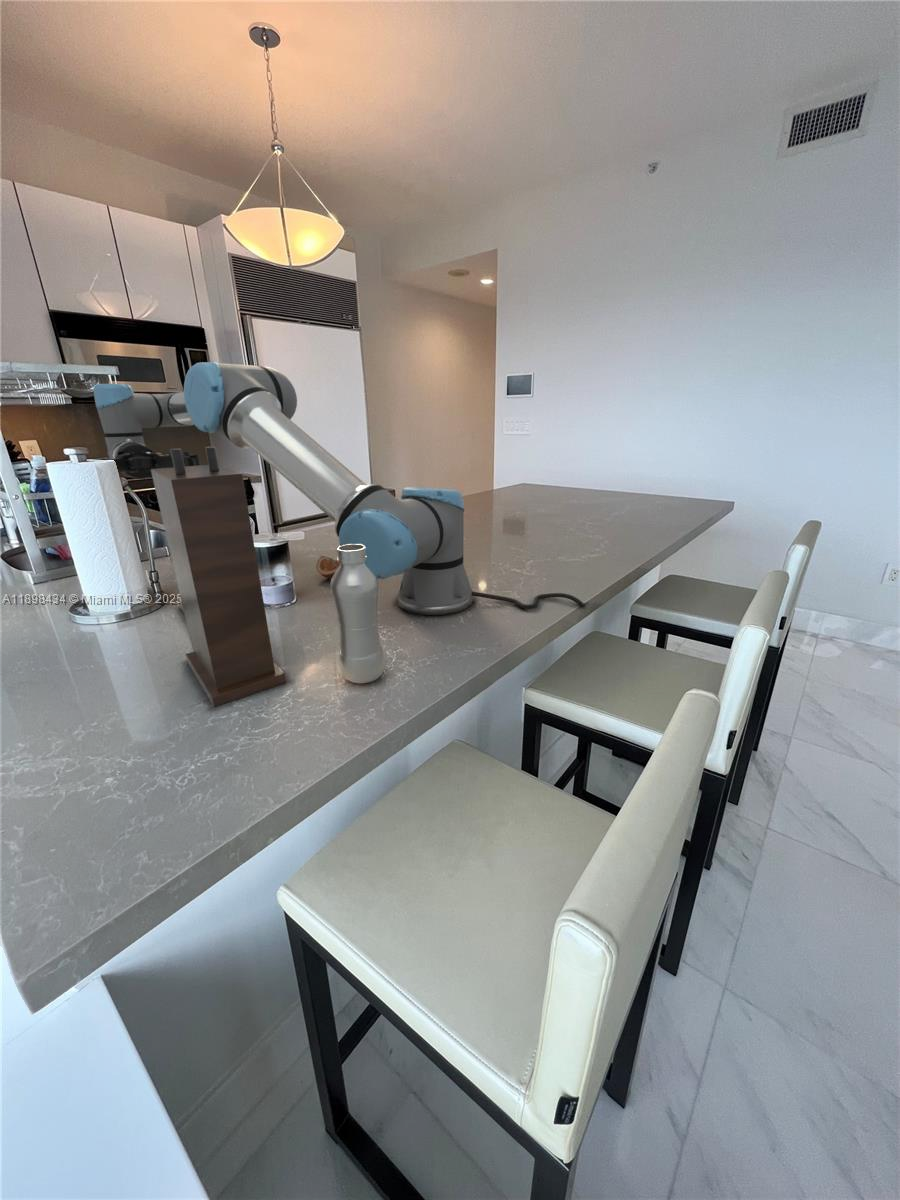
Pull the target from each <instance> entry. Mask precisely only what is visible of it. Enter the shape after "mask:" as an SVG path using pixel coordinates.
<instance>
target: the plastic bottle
mask: <svg viewBox="0 0 900 1200" xmlns="http://www.w3.org/2000/svg"><path fill="white" fill-rule="evenodd" d="M336 552H337V558H336V560H337V561H338V562H339V563H340V566H339V567H338V569H337V570H336V572H335V573H334V575H333V577H332V579H330V584H329V589H330V593H331V597H332V600H333V604H334V607H335V611H336V616H337V622H338V628H339V654H338V667H339V669H340V672H341V673H340V674H341V675H342V676H343V677H344V678H345V679H346V680H347V681H348V682H350V683H355V684H366V683H371V682H374V681H376V680H378V679H379V678H380V677H381V676H382V674H383V673H384V671H385V665H386V658H385V654H384V651H383V647H382V644H381V639H380V633H379V626H378V599H379V597H378V595H379V582H378V579H376V576H375V575H374V574H373V572H372V571H371V570H370V568H369V567H368V566H367V565H366V564H365V561H366V560H367V556H366V551H365V546H364V545H360V544H347V545H342V546H340V545H339V546H338V547H337V550H336Z"/></svg>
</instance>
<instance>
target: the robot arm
mask: <svg viewBox="0 0 900 1200" xmlns="http://www.w3.org/2000/svg"><path fill="white" fill-rule="evenodd" d="M92 391H93V397H94V402H95V407H96V410H97V413H98V417H99V420H100V424H101V427H102V429H103V435H104V440H105V444H106V448H107V457H104V456H100V457H98V458H94V459H93V460H114V461H115V462H116V465H117V469H118V472H117V473H120V474H124V475H126V476H127V477H130V478H132V479H136V480H144V479H148V478H150V477H152V473H151V469H160V468H173V467H174V466H173V461H172V456H171V452H168V453H166V454H165V455H164V454H163V453H162V452H154V451H153V450H152V449H151V448H150V447H149V446H147V445H146V443H145V439H144V433H143V429H147V428H176V427H180V428H181V427H182V428H183V427H189V426H195V427H196V428H197V430H199V431H201V432H204V433H209V434H213V433H216V432H217V433H221V434H222V435H223V436H225V437H226V438H227V439H228V440H229V441H230V442H231V443H232V444H234V446H236V447H238V448H241V449H251V450H253V452H255V453H256V454H257V455H259V457H261V458H262V459H263V460H264V461H265V462H266V463H267V464H269V466H271V467H272V468H273V469H274V470H275V471H277V472H278V473H279V474H280V475H281V476H282V477H283V478H285V480H287V481H288V482H289V483H290V484H291V485H293V487H295V488H296V489H297V490H298V491H299V492H300V493H301V494H303V496H305V497H306V498H307V499H308V500H309V501H311V502H312V503H313V505H315V506H316V507H317V508H318V509H319V510H320V511H322V512H323V513H324V514H325V515H326V516H327V517H329V518H330V519H331V520H332V522H334V531H335V535H336V537H338V545H339V546H342V545H347V544H360V545H364V546H365V551H366V556H367V560H366V561H365V564H366V565H367V566H368V567H369V568H370V570H371V571H372V572H373V574H374V575H375V576H376V579H377V580H383V579H384V580H385V579H388V578H392V577H395V576H398V575H402V574H403V575H402V578H401V580H400V581H399V585H398V592H397V603H398V606H399V607H400V608H401V609H403V610H405V611H407V612H408V613H411V614H416V615H422V616H423V615H424V616H444V615H451V614H455V613H459V612H461V611H463V610H466V609H468V608H469V607H470V606H471V605H472V603H473V597H477V598H484V599H489V600H496V601H502V602H507V603H511V604H513V605H516V606H518V607H519V608H521V609H524V610H529V609H530V610H531V609H535V608H536V607H537V606H538V604H539V600H541V599H550V598H564V599H566V600H567V599H568V600H570V601H572V602H574V603H576V604H577V605H578V606H579V607H581V608H585V607H586V605H585V604H584V602H583V601H582V600H580V599H579V598H577V597H576V596H573V595H571V594H569V593H562V592H552V593H551V592H550V593H542V594H541V593H540V594H538V595H536V596H535V597H534V598H533V603H529V604H526V603H523V602H521V601H519V600H518V599H515V598H511V597H508V596H502V595H495V594H491V593H484V592H478V591H473V590H472V586H471V583H470V581H469V577H468V574H467V572H466V568H465V566H464V539H465V538H464V533H465V532H464V531H465V530H464V525H465V524H464V522H465V521H464V514H465V513H464V512H465V507H464V498H463V494H462V493H461V492H460V491H459V490H457V489H451V488H440V487H439V488H438V487H420V486H419V487H418V486H416V487H415V486H414V487H413V486H409V487H404V488H403V489H402V490H401V494H400V495H401V496H400V499H398V498H397V497H395V496H394V495H393V494H392V493H391V492H389V491H388V490H387V489H386V488H385V487H383V486H382V485H381V484H379V483H373V484H367V483H365V482H364V481H363V480H362V479H360V478H359V477H358V476H357V475H356V474H355V473H353V472H352V471H351V470H350V469H349V468H348V467H347V466H345V465H344V464H343V463H342V462H341V461H340V460H338V459H337V457H335V456H334V455H332V454H331V453H330V452H329V451H328V450H326V448H324V447H323V446H322V445H321V444H320V443H318V442H317V441H316V440H315V439H313V438H312V437H311V436H310V435H308V433H306V432H305V430H303V429H302V428H300V427H299V426H298V425H297V424H296V423H295V422H293V421H292V420H291V419H292V418H293V417H294V415H295V413H296V411H297V407H298V397H297V396H298V395H297V392H296V388H295V387H294V385H293V383H292V382H291V380H290V379H289V378H288V377H287V376H286V375H285V374H283V373H282V371H279V370H277V369H275V368H273V367H270V366H265V365H253V364H252V365H251V364H238V363H237V364H236V363H221V362H216V361H211V360H210V361H209V362H208V361H207V362H206V361H205V362H203V361H201V362H196V363H195V364H194V365H192V366H191V367H190V368H189V369H188V370H187V373H186V375H185V378H184V383H183V391H177V392H172V393H143V392H141V393H140V392H139V393H137V392H134V390H133V388H132V386H131V385H130V384H127V383H98V384H95V385H94V386H93V390H92ZM182 456H183V461H184V466H185V467H186V466H199V465H201V461H200V455H199V454H197V453H194V454H190V451H184V452H183V453H182Z"/></svg>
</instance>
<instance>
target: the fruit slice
mask: <svg viewBox="0 0 900 1200" xmlns="http://www.w3.org/2000/svg"><path fill="white" fill-rule="evenodd" d="M339 566H340V563H339V562H338V561H337V559H333V557H329V556H325V555H320V557H319V559H318V560H317V562H316V566H315V569H316V571H317V573H319V574H320V575H321V576H322V577H324V578H327V579H329V580H331V579H332V577H333V575H334V573H335V572H336V570H337V569H338V567H339Z"/></svg>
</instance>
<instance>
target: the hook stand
mask: <svg viewBox="0 0 900 1200" xmlns="http://www.w3.org/2000/svg"><path fill="white" fill-rule="evenodd" d="M204 449H205V455H206V460H207V464H202V465H201V464H200V465H199V466H186V467H185V466H184V461H183V456H182V454H183V451H182V449H181V448H170V449H169V453H171V456H172V461H173V466H174V467H173V468H160V469H151V473H152V475H151V477H152V481H153V486H154V490H155V494H156V498H157V502H158V508H159V511H160V515H161V520H162V524H163V528H164V532H165V536H166V540H167V545H168V550H169V554H170V559H171V562H172V566H173V571H174V576H175V579H176V584H177V587H178V592H179V596H180V599H181V601H182V605H183V610H184V612H183V613H184V618H185V623H186V626H187V632H188V635H189V639H190V644H191V648H192V651H191V652H188V653H185V658H186V662H187V665H188V666H189V667H190V669H191V671H192V672H193V674H194V676H195V678H196V679H197V681H198V683H199V684H200V686H201V688H202V690H203V691H204V693H205V695H206V697H207V698H208V699H209V701H210V703H211V704H212V706H213V708H216V707H219V706H222V705H225V704H227V703H230V702H233V701H236V700H239V699H242V698H245V697H248V696H251V695H254V694H256V693H260V692H263V691H265V690H268V689H272V688H274V687H277V686H280V685H283V684H286V683H287V679H286V674H285V672H284V671H283V670H282V668H280V666H278V665H277V664H276V662H275V661H274V656H273V650H272V644H271V638H270V632H269V627H268V620H267V615H266V607H265V602H264V596H263V590H262V584H261V578H260V571H259V566H258V565H259V564H258V560H257V554H256V547H255V542H254V535H253V531H252V525H251V524H252V523H251V518H250V511H249V507H248V501H247V495H246V494H247V493H246V488H245V482H244V481H245V480H244V476H243V473H241V472H239V471H234V470H232V469H229V468H225V467H222V466H220V465H219V459H218V453H217V448H216V446H205V447H204ZM183 610H182V611H183Z"/></svg>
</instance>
